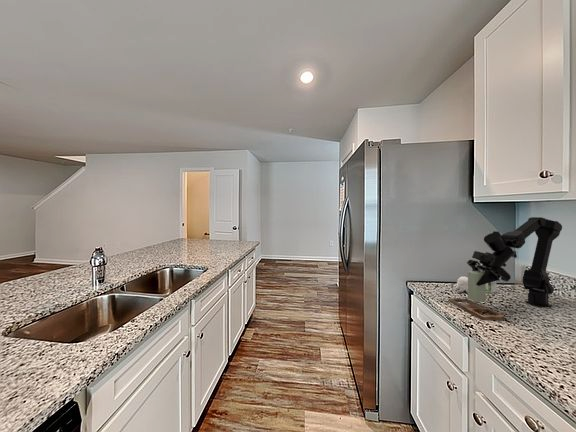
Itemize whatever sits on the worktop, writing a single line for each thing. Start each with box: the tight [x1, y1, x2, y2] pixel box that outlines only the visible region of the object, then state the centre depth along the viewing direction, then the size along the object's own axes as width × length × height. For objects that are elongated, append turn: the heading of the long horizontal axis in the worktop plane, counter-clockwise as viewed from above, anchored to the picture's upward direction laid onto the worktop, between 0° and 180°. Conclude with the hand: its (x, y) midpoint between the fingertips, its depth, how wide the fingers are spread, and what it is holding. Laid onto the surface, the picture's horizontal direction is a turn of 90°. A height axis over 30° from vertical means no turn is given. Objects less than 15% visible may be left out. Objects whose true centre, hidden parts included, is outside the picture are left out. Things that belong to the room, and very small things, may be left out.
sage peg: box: [467, 270, 487, 303], centre depth 113 cm, size 4×4×12 cm
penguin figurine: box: [456, 275, 468, 294], centre depth 142 cm, size 6×8×12 cm
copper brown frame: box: [448, 297, 506, 321], centre depth 115 cm, size 9×22×1 cm, turn 0°
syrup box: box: [480, 263, 497, 294], centre depth 140 cm, size 6×6×14 cm
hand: (473, 283), depth 113 cm, fingers closed on sage peg, 4 cm apart
